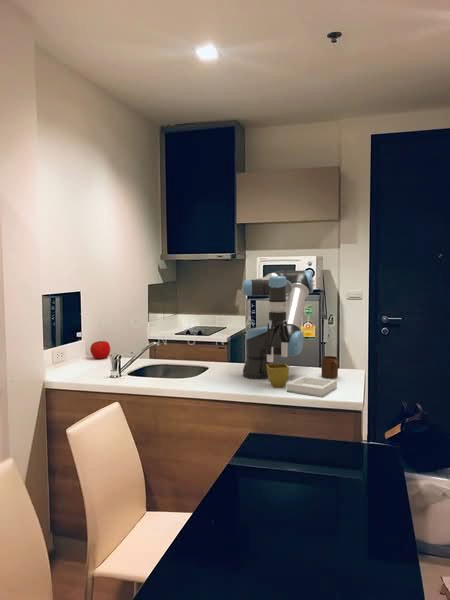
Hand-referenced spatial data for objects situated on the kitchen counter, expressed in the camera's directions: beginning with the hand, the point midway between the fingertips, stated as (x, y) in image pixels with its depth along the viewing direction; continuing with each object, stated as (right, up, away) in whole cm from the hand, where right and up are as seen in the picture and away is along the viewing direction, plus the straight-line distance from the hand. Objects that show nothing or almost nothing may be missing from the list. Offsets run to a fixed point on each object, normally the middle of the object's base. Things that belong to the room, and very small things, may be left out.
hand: (277, 359), depth 223 cm
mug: (+27, -11, +15) cm, 33 cm away
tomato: (-94, -7, +67) cm, 116 cm away
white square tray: (+14, -12, -7) cm, 20 cm away
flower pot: (0, -12, +1) cm, 12 cm away
